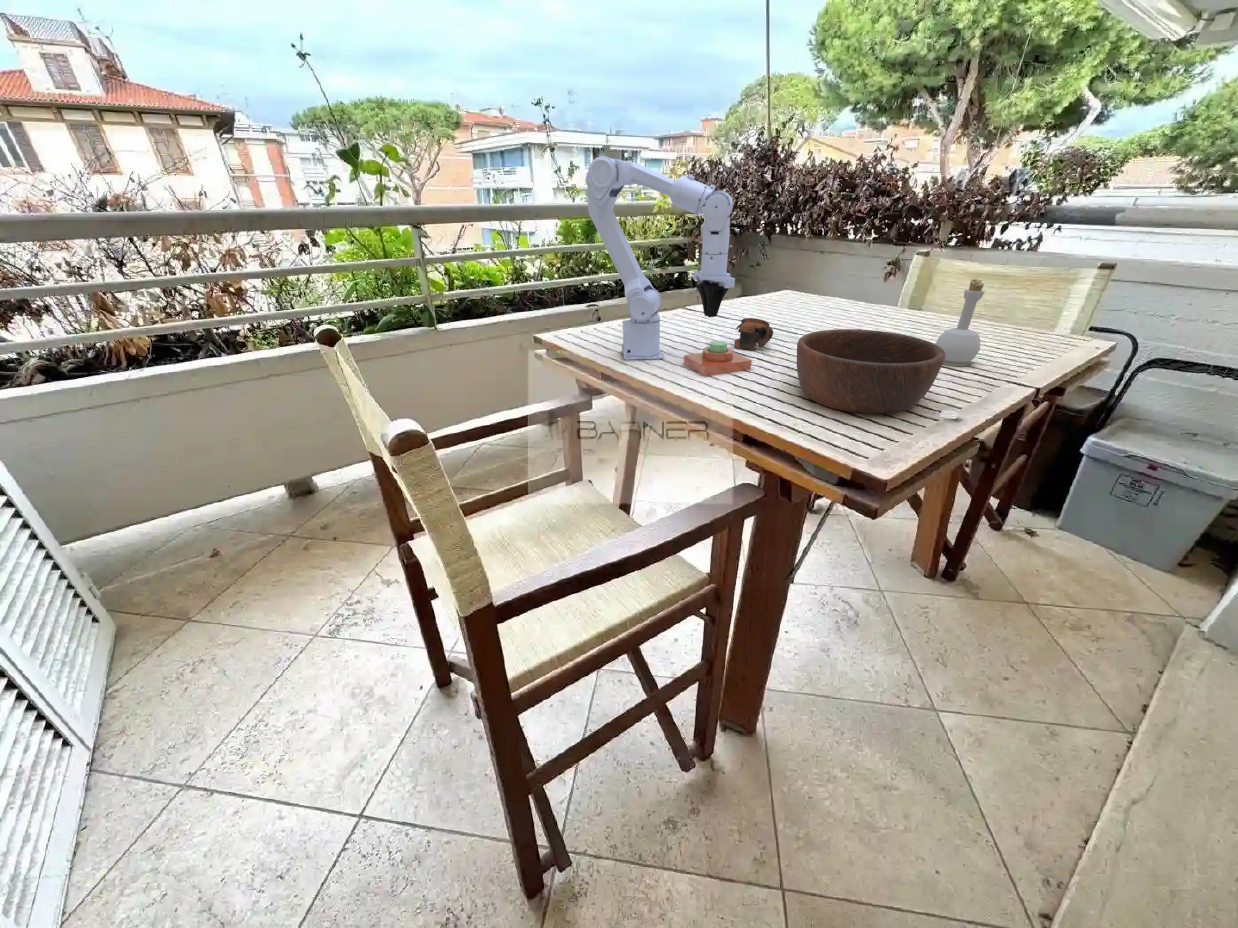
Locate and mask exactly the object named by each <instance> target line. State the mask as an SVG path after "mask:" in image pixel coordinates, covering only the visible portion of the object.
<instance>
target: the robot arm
mask: <svg viewBox="0 0 1238 928" xmlns="http://www.w3.org/2000/svg"><path fill="white" fill-rule="evenodd" d="M695 179H696V177H695V176H694V175H691V174H688V176H686V175H682V176H679V177H678V178H676V179H673V178H672V177H669V176H667V175H664V174H662V173H660V172H658V171H655V170H653V169H651V168H649V167H647V166H645V165H642V164H639V163H637V162H632V161H626V160H621V159H619V158H610V157H608V156H605V155H601V156H597V157H595V158H594V159H593V160H592V161H591V163H590V164H589V167H588V169H587V173H586V176H585V179H584V180H585V183H586V186H587V212H588V214H589V217H590V219H591V221H592V223H593V225H594V227H595V230H596V231H597V233H598V236H599V237H600V239H601V242H602V243H603V245H604V248H605V249H606V251H607V254H608V256H609V257H610V259H611V261H612V264H613V266H614V268H615V269H616V272H617V274H618V276H619V277H620V280H621V282H622V283H623V285H624V297H625V298H626V302H627V310H628V314H629V316H630V319H625V320H622V343H621V351H622V353H623V360H625V361H626V360H627V361H628V360H629V361H630V360H662V359H663V355H662V351H661V349H660V343H661V342H660V339H661V338H660V337H661V336H660V333H661V317H660V315H659V312H658V311H659V310H660V309H661V307H662V305H663V298H662V295H661V294H660V292H659V291H658V290H657V289H656V288H654V286H653V285H652V283H651V281H650V280H649V279H648V278H647V277H646V276H645V274H644V273H643V271H642V269H641V266H640V265H639V262H638V260H637V258H636V256H635V253H634V252H633V249H632V247H631V245H630V244H629V242H628V239H627V237H626V235H625V233H624V231H623V228H622V227H621V225H620V222H619V220H618V218H617V216H616V214H615V212H614V208H615V205H616V202H617V199H618V196H619V195H620V193H621V192H622V190H623V189H624V187H625V186H632V185H633V186H634V185H636V184H637V185H638V186H642V187H645V188H647V189H650V190H653V191H656V192H659V193H661V194H664V195H666V196H668V197H669V199H670V201H671V204H672V205H673V206H676V207H678V208H680V209H683V210H685V211H688V212H690V213H693V214H695V215H697V216H701V215H703V217H704V225H703V231H702V246H701V260H700V262H701V264H700V270H693V280H695V281H700V282H701V283H698V284H696V289H697V291H698V293H699V295H700V299H701V304H702V308H703V315H704V316H705V317H707V318H717V316H718V313H719V310H720V307H721V305H722V301H723V299H724V297H725V295H726V294H727V292H729V289H735V284H736V278H735V277H732V276H731V273H729V272H727V271H728V258H729V247H730V236H731V235H730V234H731V230H730V226H731V217H730V215H731V214H732V212H733V209H734V202H733V201H734V200H733V199H732V197H731V195H730V194H729V193H727V192H726V191H725V190H721V189H719V190H716V185H714V184H710V185H707V184H705V183H702V182H700V181H698V180H695Z"/></svg>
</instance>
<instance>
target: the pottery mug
mask: <svg viewBox="0 0 1238 928" xmlns="http://www.w3.org/2000/svg"><path fill="white" fill-rule="evenodd" d="M740 322H741V323H740V324H739V325H737V327H736V328H735V329H736V330H738V331H737V333H739V338H736V339H734V348H735V349H736V348H737V349H739V348H740V349H745V350H749V351H755V349H756V346H757V345H758V347H759V348H763V347H765V345H767V344H768V343H769V342H770V341H771V339H772V338H773V336H774V330H773V328H772V327H771V325H770V323H769V322H768V321H766V320H764V319H760V318H756V317H746V318H742V319H741V320H740Z"/></svg>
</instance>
